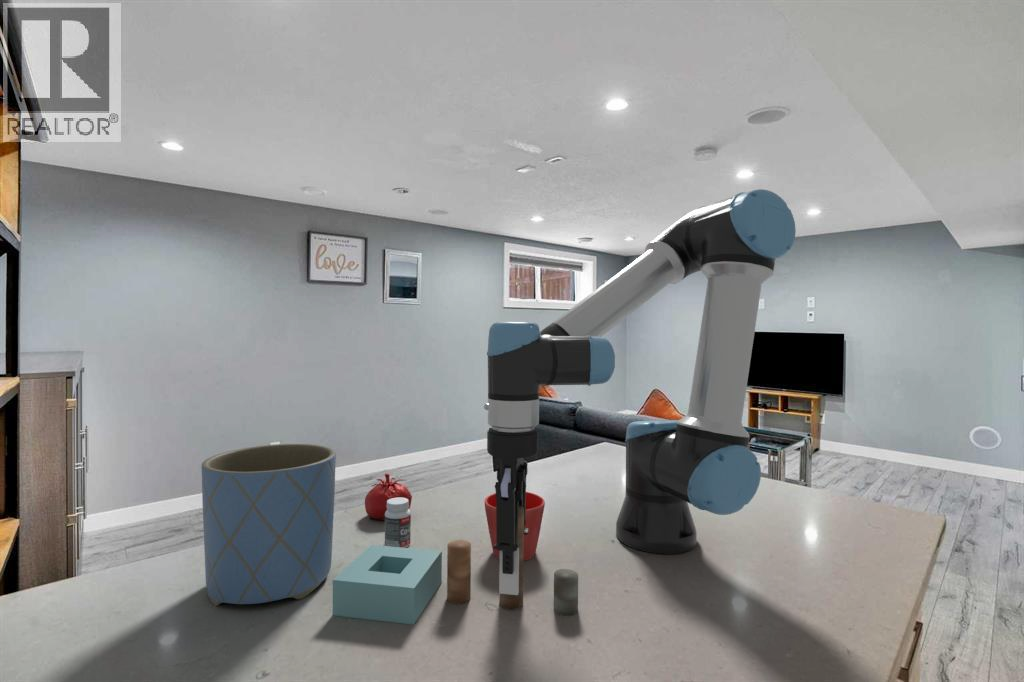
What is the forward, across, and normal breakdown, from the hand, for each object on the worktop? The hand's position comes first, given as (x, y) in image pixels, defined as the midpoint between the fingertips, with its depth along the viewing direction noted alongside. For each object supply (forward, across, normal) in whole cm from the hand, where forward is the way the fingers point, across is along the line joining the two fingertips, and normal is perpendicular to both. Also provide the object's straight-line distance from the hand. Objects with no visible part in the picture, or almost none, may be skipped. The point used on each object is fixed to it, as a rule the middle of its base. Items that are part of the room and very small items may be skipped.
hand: (511, 585), depth 74 cm
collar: (+3, +2, -18) cm, 18 cm away
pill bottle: (+3, -16, -24) cm, 29 cm away
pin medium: (+3, 0, -8) cm, 8 cm away
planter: (+3, +1, -38) cm, 39 cm away
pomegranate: (+3, -30, -32) cm, 44 cm away
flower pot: (+3, -17, -2) cm, 17 cm away
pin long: (+3, 0, 0) cm, 3 cm away
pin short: (+3, 0, +8) cm, 8 cm away
